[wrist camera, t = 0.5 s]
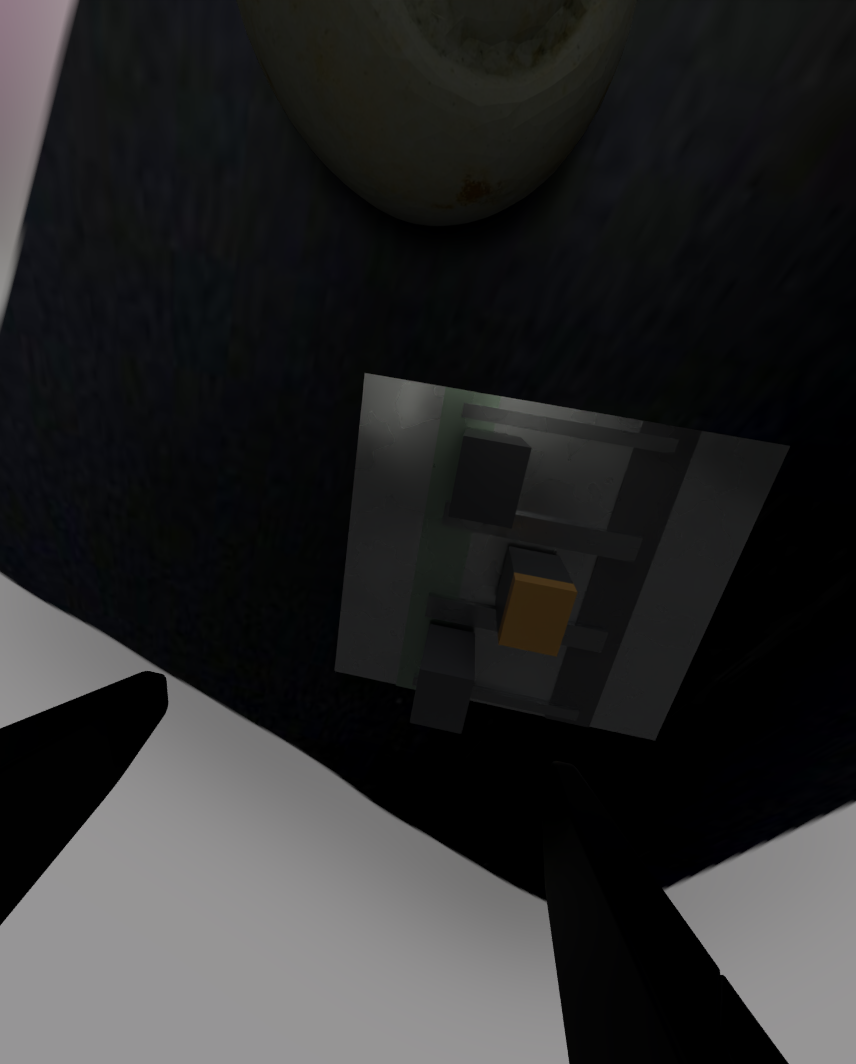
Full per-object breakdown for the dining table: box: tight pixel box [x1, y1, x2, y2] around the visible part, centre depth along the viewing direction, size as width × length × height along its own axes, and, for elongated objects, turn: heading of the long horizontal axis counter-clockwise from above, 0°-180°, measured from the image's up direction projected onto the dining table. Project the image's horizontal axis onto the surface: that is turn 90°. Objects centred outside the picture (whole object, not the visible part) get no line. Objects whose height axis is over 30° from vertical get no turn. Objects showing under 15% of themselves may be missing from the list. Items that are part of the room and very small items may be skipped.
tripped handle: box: [495, 546, 577, 657], centre depth 18 cm, size 2×3×4 cm
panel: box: [335, 373, 790, 740], centre depth 20 cm, size 18×16×1 cm
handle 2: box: [448, 428, 532, 529], centre depth 16 cm, size 2×3×4 cm
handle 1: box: [410, 624, 475, 734], centre depth 20 cm, size 2×3×4 cm
